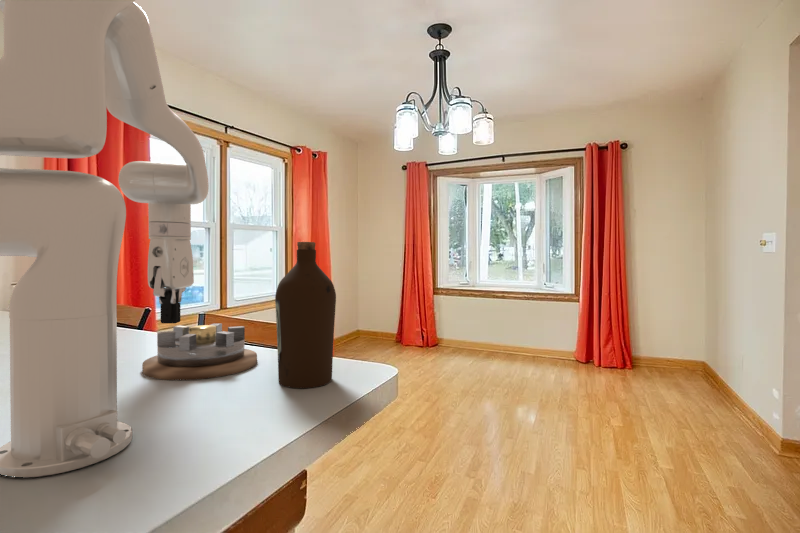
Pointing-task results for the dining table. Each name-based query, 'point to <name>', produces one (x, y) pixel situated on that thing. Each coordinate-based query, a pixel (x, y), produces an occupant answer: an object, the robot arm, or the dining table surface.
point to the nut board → (198, 368)
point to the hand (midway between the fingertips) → (170, 322)
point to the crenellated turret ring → (200, 345)
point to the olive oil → (305, 323)
